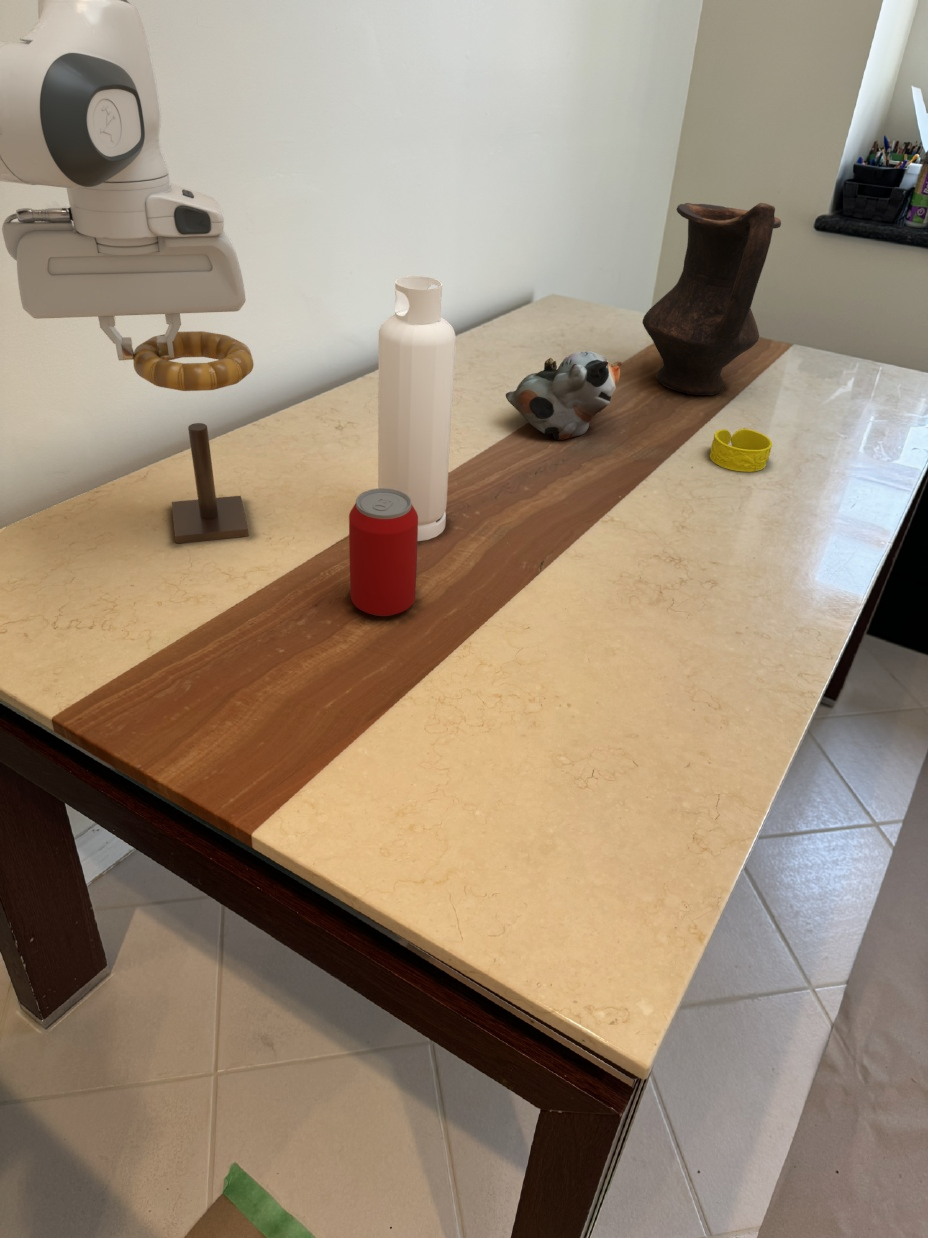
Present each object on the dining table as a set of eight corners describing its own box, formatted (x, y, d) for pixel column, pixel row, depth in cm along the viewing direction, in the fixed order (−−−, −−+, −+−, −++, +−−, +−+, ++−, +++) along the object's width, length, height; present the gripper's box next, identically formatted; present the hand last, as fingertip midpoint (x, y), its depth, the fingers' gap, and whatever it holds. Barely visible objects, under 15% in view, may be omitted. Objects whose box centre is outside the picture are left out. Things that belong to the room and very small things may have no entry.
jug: (615, 365, 152) (648, 174, 134) (711, 362, 156) (755, 177, 138) (666, 415, 135) (710, 206, 118) (772, 410, 140) (830, 207, 122)
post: (176, 543, 98) (160, 445, 91) (172, 508, 104) (157, 414, 97) (248, 536, 100) (239, 439, 93) (241, 502, 106) (231, 409, 99)
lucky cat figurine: (539, 397, 138) (594, 323, 130) (590, 448, 135) (649, 376, 127) (489, 396, 126) (546, 315, 118) (544, 453, 123) (606, 373, 115)
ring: (135, 396, 84) (132, 370, 82) (135, 353, 92) (131, 328, 91) (259, 392, 87) (257, 367, 85) (247, 350, 96) (245, 327, 94)
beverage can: (424, 593, 93) (429, 493, 86) (400, 628, 88) (402, 525, 81) (366, 578, 95) (366, 479, 87) (339, 612, 89) (336, 509, 82)
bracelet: (776, 470, 122) (782, 449, 120) (724, 473, 120) (730, 452, 118) (750, 447, 128) (756, 426, 126) (701, 450, 126) (706, 428, 124)
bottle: (457, 532, 103) (473, 289, 87) (397, 547, 100) (401, 298, 83) (424, 501, 109) (434, 268, 92) (366, 515, 105) (364, 275, 89)
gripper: (-8, 216, 74) (31, 374, 82) (239, 215, 79) (253, 363, 88) (0, 200, 79) (36, 351, 87) (233, 199, 84) (246, 341, 92)
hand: (147, 357), depth 87 cm, fingers closed on ring, 2 cm apart
